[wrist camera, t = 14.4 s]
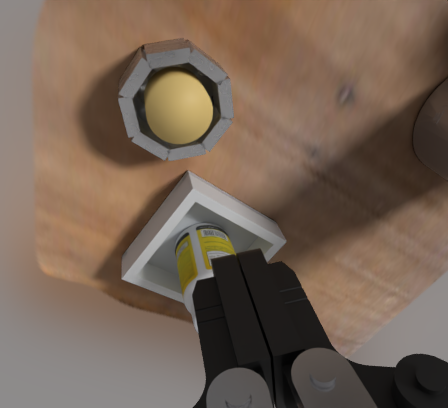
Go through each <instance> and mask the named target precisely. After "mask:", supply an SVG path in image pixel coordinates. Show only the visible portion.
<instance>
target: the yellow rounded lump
mask: <svg viewBox="0 0 448 408" xmlns="http://www.w3.org/2000/svg"><path fill="white" fill-rule="evenodd" d="M144 102H145V110H146V117H147V121H148V124H149V126H150V128H151V130H152V131H153V132H154V134H155V135H157V136H158V137H159V138H160V139H162V140H164V141H166V142H169V143H173V144H186V143H190V142H192V141H194V140H196V139H198V138H199V137H201V136H202V135H203V134H204V133H205V132H206V130H207V129H208V127H209V125H210V123H211V121H212V116H213V106H212V102H211V99H210V97H209V95H208V93H207V92H206V90H205V88H204V87H203V85H202V83H201V81H200V80H199V78H198V77H197V76H196V75H195V74H194V73H192V72H191V71H189V70H187V69H185V68H182V67H167V68H164V69H161V70H159V71H158V72H156V73H155V74H154V75H153V76H152V77H151V78H150V79H149V81H148V83H147V85H146V87H145V91H144Z"/></svg>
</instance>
